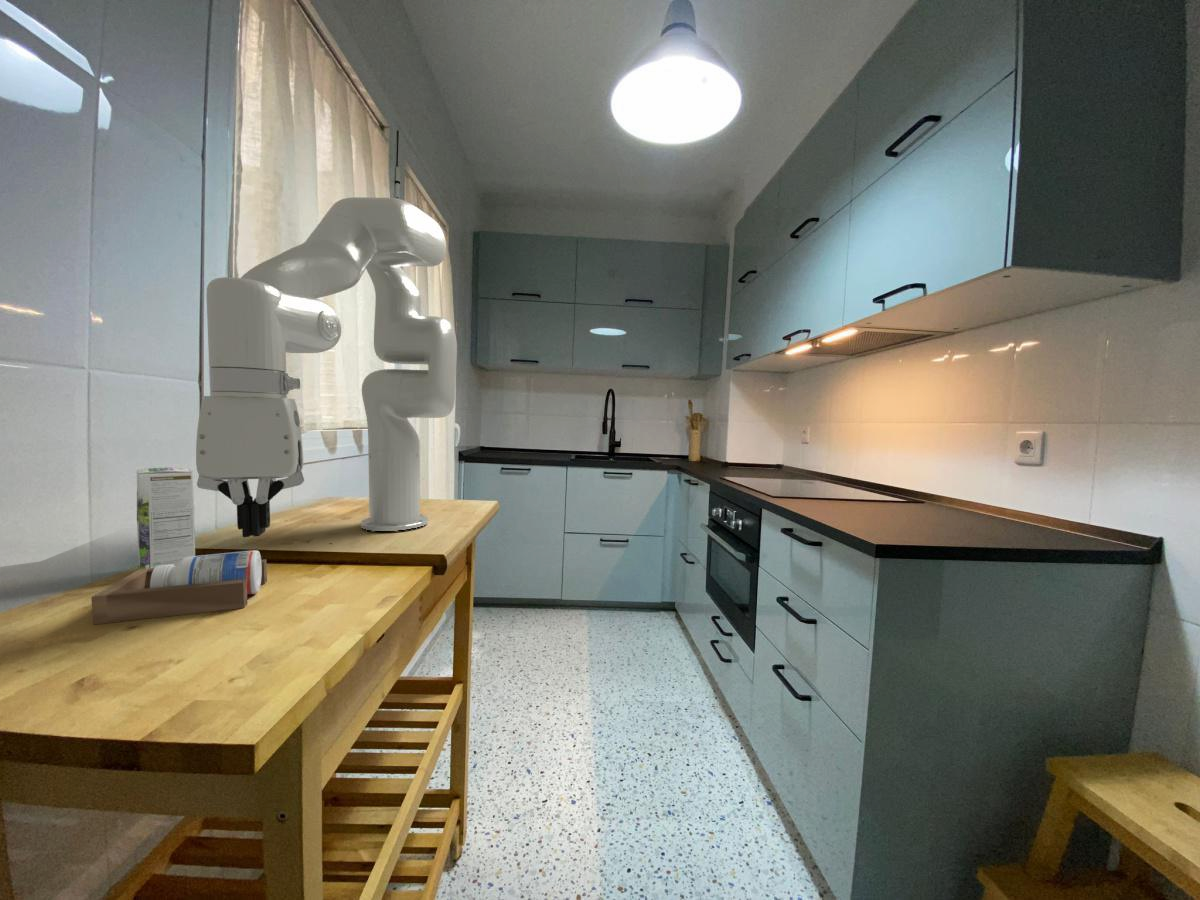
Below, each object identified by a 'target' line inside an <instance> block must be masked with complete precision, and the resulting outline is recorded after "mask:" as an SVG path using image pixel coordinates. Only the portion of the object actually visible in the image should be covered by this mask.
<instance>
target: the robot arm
mask: <svg viewBox="0 0 1200 900" xmlns="http://www.w3.org/2000/svg"><path fill="white" fill-rule="evenodd" d="M446 242H447V241H446V236H445V234H444V232H443V229H442V227H441V226H440V225H439V223H438V222H437V221H436V220H435V219H434V218H432V217H431V216H430V215H428V214H427V213H426V212H424V211H423V210H421V209H420V208H419V207H417V206H415V205H414V204H413V203H410V202H408V201H406V200H404V199H401V198H398V197H362V196H360V197H359V196H358V197H357V196H356V197H355V196H353V197H346V198H342V199H339V200H338V201H335V203H333V204H332V206H330V208H329V210H328V211H327V212H326V213H325V215H324V216H323V217H322V218H321V220H320V221H319V223H318V224H317V226H316V227H315V228H314V230H313V231H312V232H311V233H310V234H309V236H308V237H307V239H306V240H305V241H304V242H303V243H301V244H298V245H296V246H294V247H291V248H290V249H287V250H285V251H283V252H281V253H280V254H277V255H275V256H273V257H271V258H268V259H266V260H264V261H262V262H260V263H259V264H257V265H255V266H253V267H252V268H250V269H248V271H246V272H245V273H244V274H243V275H242V276H241V277H235V276H234V277H233V276H232V277H228V276H227V277H226V276H223V277H216V278H214V279H212V280H210V281H209V282H208V284H207V285H206V286H207V287H206V315H207V317H206V318H207V319H206V320H207V341H208V342H207V343H208V344H207V345H208V348H207V349H208V367H209V370H208V373H209V374H208V375H209V376H208V377H209V394H210V395H203V397H202V400H201V405H200V411H199V414H198V415H199V416H198V423H197V429H196V430H197V431H196V442H195V443H196V444H195V445H196V446H195V450H196V451H195V465H196V471H197V474H198V478H197V482H196V486H197V488H199V489H202V490H207V491H208V490H209V491H214V492H216V491H217V492H220V493H222V494H223V495H224V496H226V497H227V498H228V499H230V500H231V502H232V504H233V505H236V519H237V520H236V522H237V524H236V525H237V529H238V530H242V532H241V533H242V537H243V538H249V537H251V536H253V537H255V538H256V537H260V536H261V535H263V534H264V533H265V532H266V529H268V528H269V527H270V526H271V507H270V506H271V505H270V501H271V500H272V499H274V497H275V496H277V494H279V493H280V492H281V491H282V490H285V489H290V488H293V487H298V486H301V485H302V484H304V482H305V477H304V475H303V471H302V470H303V467H304V449H303V448H304V447H303V439H302V430H301V428H302V427H301V422H300V415H299V410H298V406H297V402H296V399H294V398H288V395H289V392H290V391H292V390H300V389H301V380H300V378H295V377H294V378H293V377H292V376H290V375H289V374H288V373H287V353H288V354H319V353H325V352H327V351H329V350H331V349H333V348H334V347H335V346H336V345H337V344H338V342H339V341H340V338H341V336H342V325H341V321H340V318H339V316H338V314H337V313H336V312H335V310H334V309H333V307H331V306H330V305H329V304H328V303H326V302H325V301H322V300H321V299H319V298H325V297H328V296H332V295H335V294H338V293H341V292H344V291H346V290H349V289H351V288H353V287H355V286H356V285H357V284H358V283H359V281H360V279H361V278H362V276H363V274H364V273H365V271H367V273H368V275H369V278H370V280H371V282H372V284H373V287H374V288H373V289H374V293H375V303H374V304H375V307H374V328H373V349H374V353H375V354H376V355H375V356H377V358H378V359H379V360H381V361H382V362H385V363H389V364H397V365H398V364H399V365H427V367H428V369H404V368H403V369H401V368H399V369H398V368H396V369H395V368H391V369H390V368H387V369H385V368H384V369H379V370H375V371H373V372H372V371H371V372H370V373H369V374H367V376H365V378H364V379H363V381H362V384H361V397H362V401H363V408H364V411H365V417H366V423H367V436H368V437H367V439H368V442H367V444H368V447H367V448H368V455H367V456H368V503H369V504H368V507H369V509H368V512H369V514H368V515H369V517H366V518H364V519H363V520H361V521H360V528H361V529H362V528H363V529H362V530H364V529H366V530H365V531H367V530H371V531H370V532H375V531H395V530H404V529H411V528H416V529H418V528H417V527H420V526H423V527H424V525H425V526H426V525H428V523H429V518H428V516H427V515H424V514H421V468H420V467H421V464H420V462H421V460H420V459H421V458H420V456H421V454H420V447H421V446H420V438H419V437H420V436H419V435H418V433H417V431H416V429H415V428H414V426H413V425H412V424H411V422H410V421H409V419H411V418H419V419H420V418H421V419H424V418H425V419H437V418H439V419H440V418H445V417H447V416H449V415H450V414H451V412H452V411H453V409H454V406H455V400H456V385H457V384H456V383H457V382H456V381H457V360H458V359H457V358H458V357H457V356H458V342H457V335H456V331H455V329H454V326H453V325H452V324H451V322H450V321H449V320H447V319H446V318H444V317H439V316H431V315H430V316H429V315H428V316H427V315H422V313H421V312H422V307H421V306H422V297H421V293H420V291H419V290H420V289H419V288H418V287H417V284H416V283H415V282H414V281H413V280H412V279H411V278H410V277H409V276H408V274H407V273H406V272H405V271H404V270H403V268H402V267H427V268H428V267H435V266H439V265H440V264H441V263H442V262H443V261H444V260H445V257H446V253H447V243H446ZM249 480H258V481H257V487H256V494H255V498H253V496H252V494H251V489H250V485H249V484H250V483H249ZM420 528H421V527H420ZM411 530H412V529H411ZM395 532H396V531H395Z"/></svg>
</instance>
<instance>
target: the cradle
mask: <svg viewBox="0 0 1200 900" xmlns="http://www.w3.org/2000/svg"><path fill="white" fill-rule="evenodd" d="M261 564H262V577H261V584H260V585H265V584H266V583H268V570H267V569H268V568H267V567H268V566H267V565H268V564H267V558H265V559H264V558H263V559H261ZM153 570H154V568H150V569H139V568H138V570H136V571H134V572H132V573H131V574H129V575H127V576H126V577H124V578H122V579H120V580H118V581H117V582H115V583H113V584H111V585H110V586H108V587H106V588H105V589H102V590H100V591H99V592H97V593H95V594H94V595H93V596H91V598H90V599H91V614H92V616H91V617H92V625H101V624H102V625H103V624H110V623H118V622H128V621H136V620H146V619H147V620H148V619H155V618H163V617H173V616H182V615H192V614H200V613H210V612H218V611H227V610H236V609H244V608H246V606H247V605H248V595H247V579H244V580H233V581H222V582H212V583H201V584H190V585H179V586H168V587H157V588H150V581H151V575H152V572H153Z"/></svg>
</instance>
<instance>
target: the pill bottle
mask: <svg viewBox="0 0 1200 900" xmlns="http://www.w3.org/2000/svg"><path fill="white" fill-rule="evenodd" d="M261 560H262V556H261V553H260V551H259V550H256V549H255V550H254V549H253V550H245V551H244V550H243V551H234V552H224V553H214V554H213V553H212V554H204V555H203V554H201V555H195V556H191V557H186V558H184V559H183V560H182V561H181V562H180V563H179V565H177V566H174V565H173V564H171V565H170V564H168V565H160V566H156V567H155V568H154V570H153V572H152V575H151V581H150V588H157V587H168V586H179V585H190V584H201V583H212V582H222V581H233V580H244V579H247V596H248V595H255V594H258V593H259V591H260V588H261V585H262V584H261V577H262V564H261Z"/></svg>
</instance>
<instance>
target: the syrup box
mask: <svg viewBox="0 0 1200 900" xmlns="http://www.w3.org/2000/svg"><path fill="white" fill-rule="evenodd" d="M194 489H195V487H194V472H193V470H191V469H190V468H188V467H168V466H167V467H151V468H142V469H137V470H136V530H137V553H138V556H137V557H138V570H139V569H150V568H155V567H156V566H160V565H168V564H170V565H171V564H173V565H174V566H177V565H179V563H180V562H181V561H182V560H183V559H184V558H186V557H191V556H196V540H195V539H196V529H195V528H196V527H195V491H194Z"/></svg>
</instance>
